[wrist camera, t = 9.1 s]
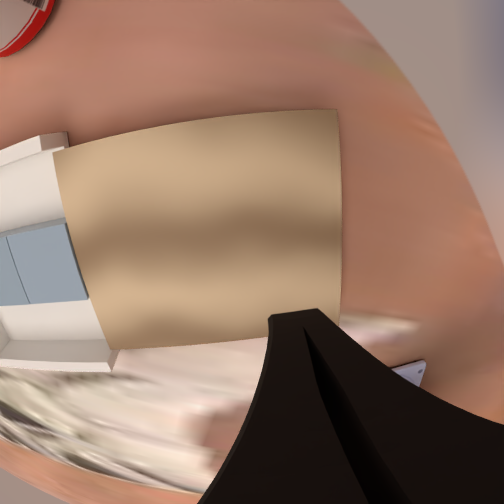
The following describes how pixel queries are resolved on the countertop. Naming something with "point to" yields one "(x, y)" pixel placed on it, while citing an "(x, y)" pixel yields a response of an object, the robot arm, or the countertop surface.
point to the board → (207, 225)
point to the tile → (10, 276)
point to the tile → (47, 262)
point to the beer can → (21, 22)
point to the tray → (45, 314)
